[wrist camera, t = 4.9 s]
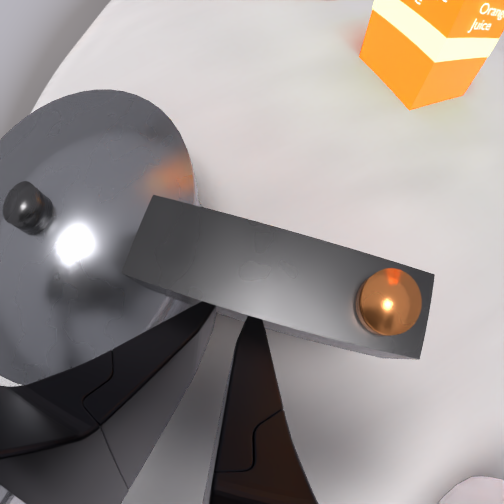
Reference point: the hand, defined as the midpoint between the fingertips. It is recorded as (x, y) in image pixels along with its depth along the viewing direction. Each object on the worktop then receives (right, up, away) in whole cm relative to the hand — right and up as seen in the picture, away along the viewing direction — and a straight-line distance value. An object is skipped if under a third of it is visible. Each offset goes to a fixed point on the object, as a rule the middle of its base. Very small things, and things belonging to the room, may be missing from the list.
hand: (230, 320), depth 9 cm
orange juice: (+16, +19, +16) cm, 30 cm away
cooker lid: (-6, +2, +4) cm, 7 cm away
